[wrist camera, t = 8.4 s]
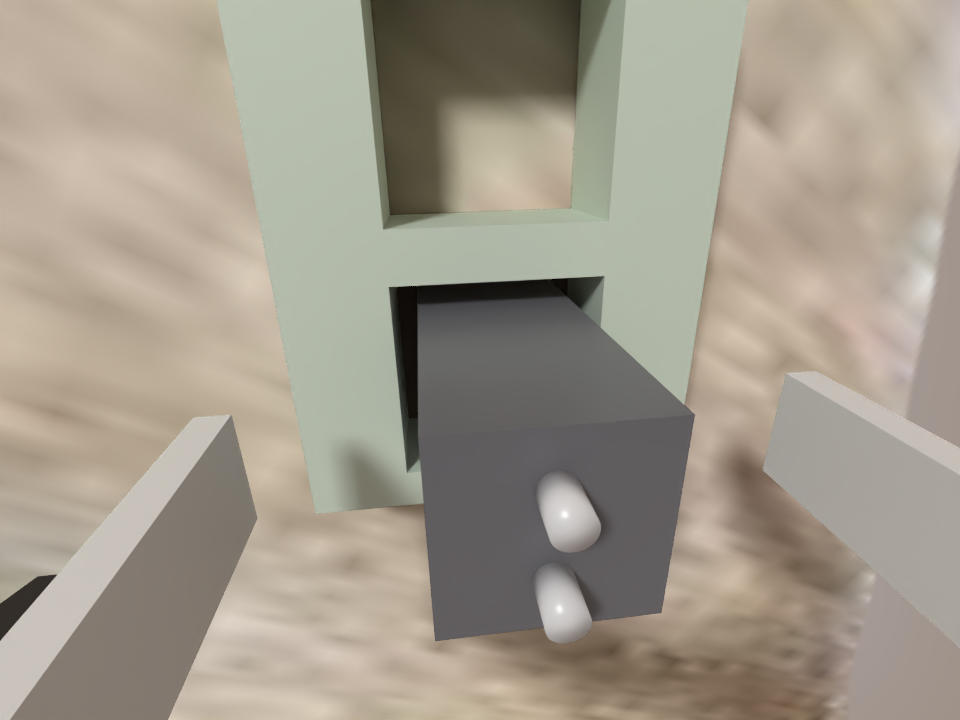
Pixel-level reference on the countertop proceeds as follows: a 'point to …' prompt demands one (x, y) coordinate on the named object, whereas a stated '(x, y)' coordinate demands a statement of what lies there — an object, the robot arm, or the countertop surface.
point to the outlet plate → (471, 235)
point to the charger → (541, 464)
